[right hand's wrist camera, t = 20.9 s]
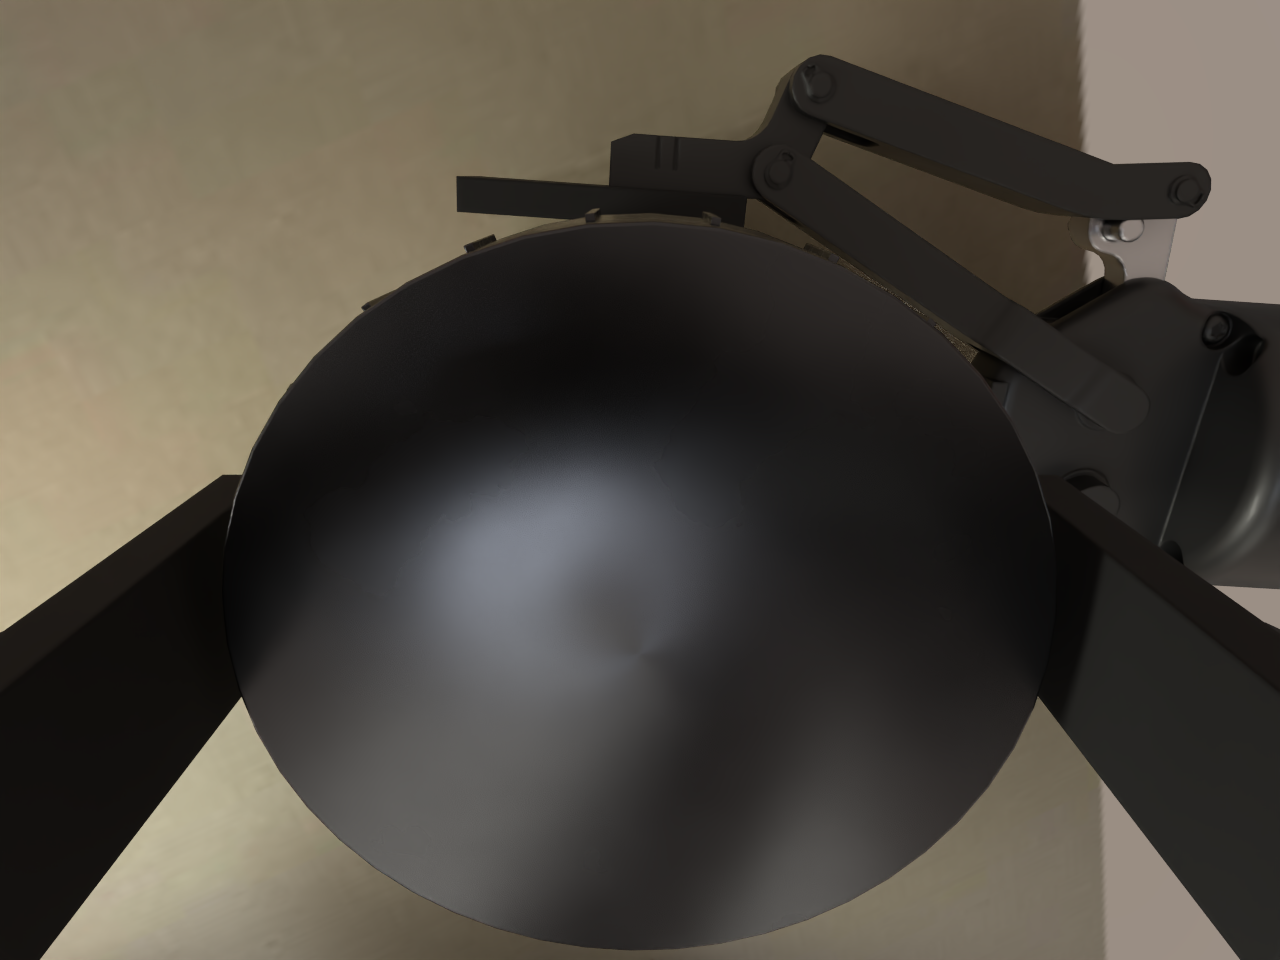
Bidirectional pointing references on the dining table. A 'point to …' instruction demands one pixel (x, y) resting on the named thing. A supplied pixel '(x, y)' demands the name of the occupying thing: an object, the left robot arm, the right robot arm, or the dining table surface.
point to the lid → (639, 583)
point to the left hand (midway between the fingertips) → (471, 398)
